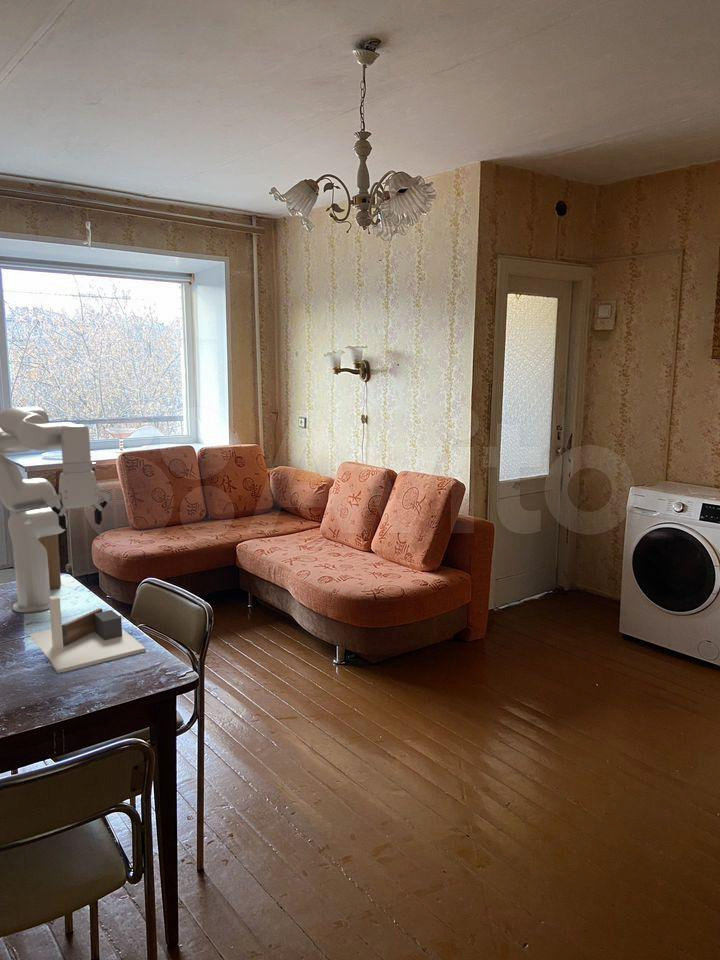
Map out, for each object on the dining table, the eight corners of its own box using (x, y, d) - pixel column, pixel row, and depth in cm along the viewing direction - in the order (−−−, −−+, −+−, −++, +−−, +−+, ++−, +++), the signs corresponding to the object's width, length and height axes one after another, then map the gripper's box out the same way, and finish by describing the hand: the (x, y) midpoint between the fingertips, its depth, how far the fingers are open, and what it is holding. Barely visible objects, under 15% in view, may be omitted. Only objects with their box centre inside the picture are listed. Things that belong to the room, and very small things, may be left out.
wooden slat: (61, 644, 190) (60, 625, 189) (99, 626, 204) (98, 608, 203) (65, 645, 190) (64, 626, 189) (103, 626, 203) (102, 608, 202)
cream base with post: (28, 637, 199) (24, 586, 196) (108, 620, 212) (105, 572, 210) (58, 673, 175) (53, 616, 173) (145, 651, 189) (142, 598, 187)
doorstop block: (95, 632, 200) (93, 613, 199) (112, 628, 203) (111, 609, 202) (104, 640, 194) (103, 621, 193) (122, 636, 197) (121, 617, 196)
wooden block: (29, 592, 238) (25, 535, 235) (28, 584, 247) (24, 529, 244) (61, 588, 243) (57, 532, 240) (59, 580, 252) (55, 526, 249)
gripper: (103, 463, 208) (106, 520, 211) (41, 469, 198) (45, 528, 201) (111, 466, 202) (115, 524, 205) (48, 472, 192) (53, 532, 195)
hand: (81, 526), depth 203 cm, fingers open, 9 cm apart
